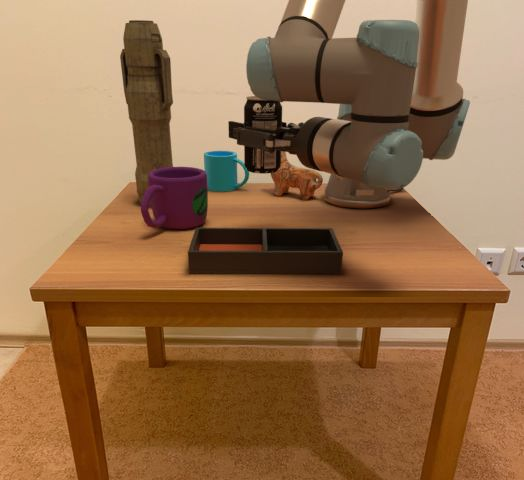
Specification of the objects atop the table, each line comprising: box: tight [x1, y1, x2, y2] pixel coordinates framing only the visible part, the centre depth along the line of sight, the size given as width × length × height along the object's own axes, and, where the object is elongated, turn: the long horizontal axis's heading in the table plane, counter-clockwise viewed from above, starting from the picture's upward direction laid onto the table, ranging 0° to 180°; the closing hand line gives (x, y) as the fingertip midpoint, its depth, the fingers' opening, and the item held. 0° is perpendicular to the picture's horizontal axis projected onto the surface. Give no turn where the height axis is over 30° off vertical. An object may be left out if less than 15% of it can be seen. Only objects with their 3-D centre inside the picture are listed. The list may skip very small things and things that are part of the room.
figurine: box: [270, 151, 324, 201], centre depth 121 cm, size 7×16×10 cm, turn 58°
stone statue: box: [119, 19, 174, 208], centre depth 108 cm, size 9×12×35 cm
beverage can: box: [243, 95, 283, 174], centre depth 90 cm, size 7×7×12 cm
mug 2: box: [203, 150, 250, 192], centre depth 127 cm, size 12×8×8 cm
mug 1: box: [140, 166, 209, 230], centre depth 99 cm, size 17×11×10 cm, turn 154°
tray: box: [187, 226, 344, 275], centre depth 85 cm, size 12×24×4 cm, turn 91°
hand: (247, 128), depth 93 cm, fingers closed on beverage can, 7 cm apart
